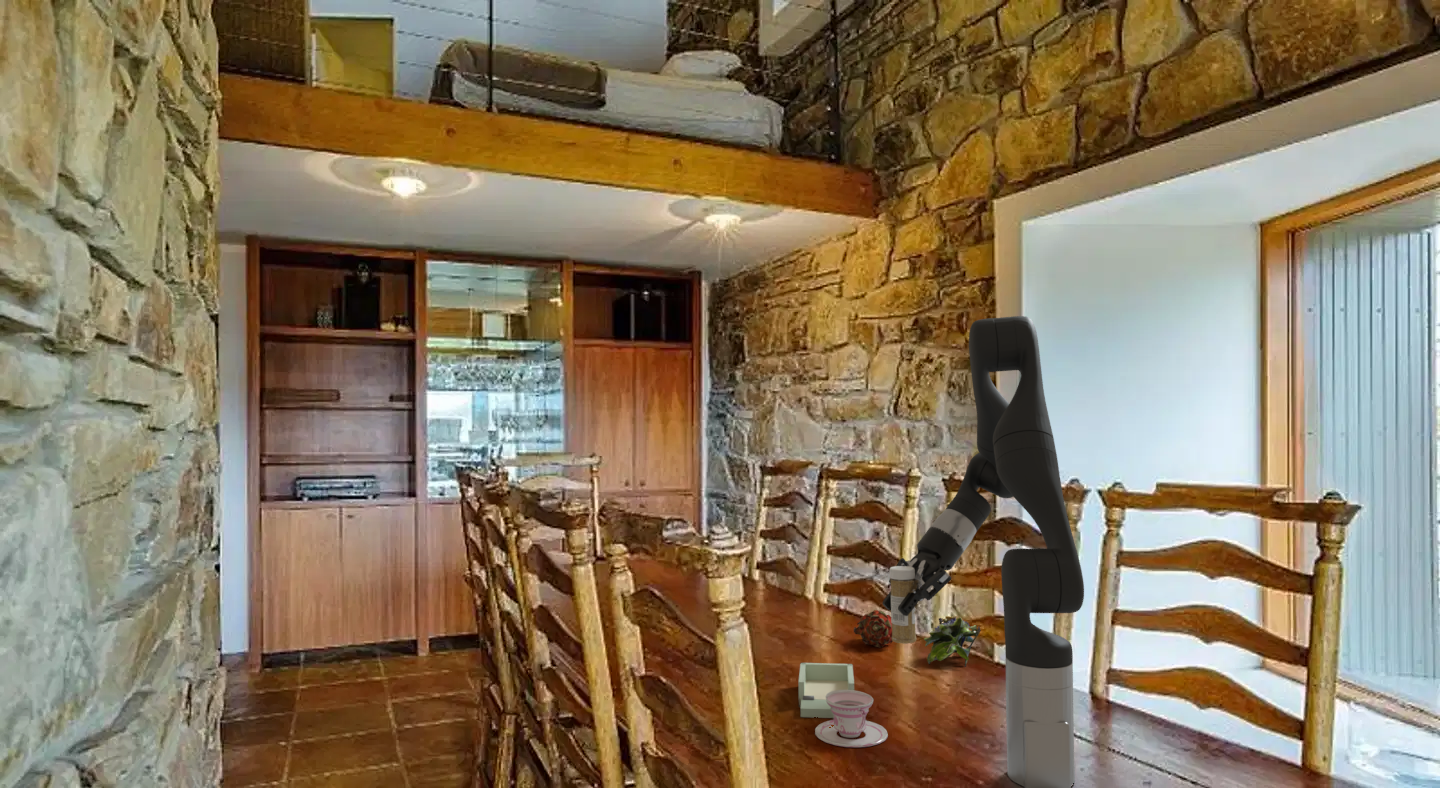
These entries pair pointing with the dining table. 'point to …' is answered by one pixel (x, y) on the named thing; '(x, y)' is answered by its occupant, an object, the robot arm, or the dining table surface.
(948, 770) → the dining table surface
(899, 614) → the sprinkles bottle
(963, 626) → the passion flower
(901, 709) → the dining table surface
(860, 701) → the teacup
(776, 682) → the dining table surface
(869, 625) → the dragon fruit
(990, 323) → the robot arm
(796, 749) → the dining table surface
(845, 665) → the crate
